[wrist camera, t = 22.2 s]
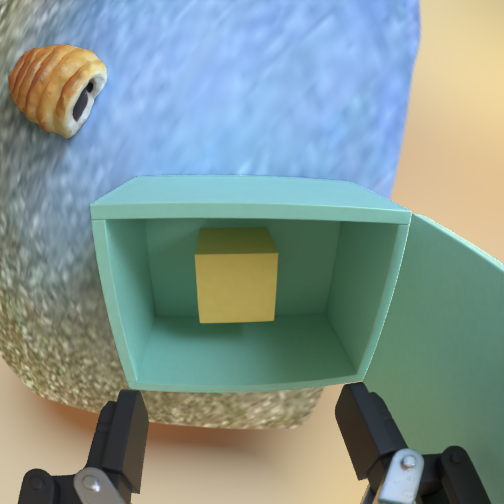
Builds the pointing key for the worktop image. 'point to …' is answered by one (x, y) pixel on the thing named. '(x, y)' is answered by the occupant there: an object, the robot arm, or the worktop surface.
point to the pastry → (57, 86)
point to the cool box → (287, 291)
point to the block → (236, 275)
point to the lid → (446, 350)
